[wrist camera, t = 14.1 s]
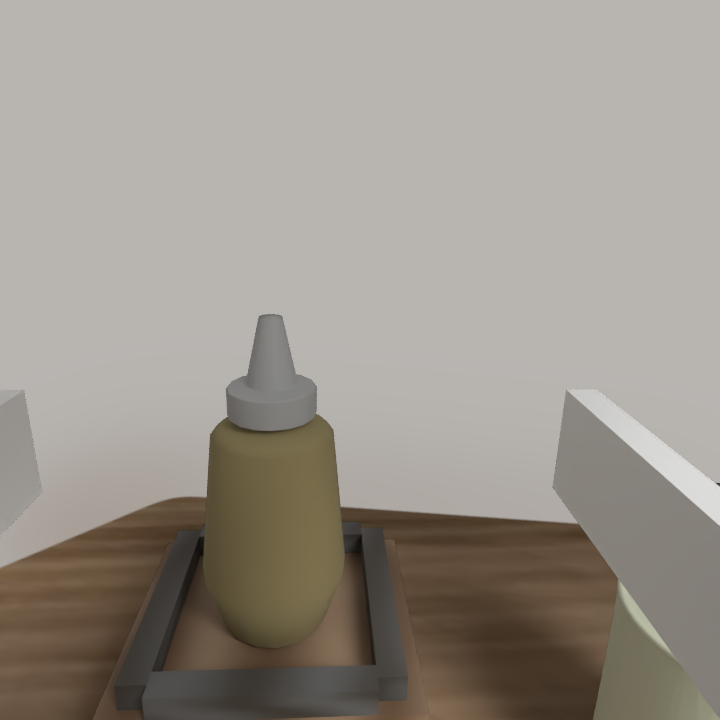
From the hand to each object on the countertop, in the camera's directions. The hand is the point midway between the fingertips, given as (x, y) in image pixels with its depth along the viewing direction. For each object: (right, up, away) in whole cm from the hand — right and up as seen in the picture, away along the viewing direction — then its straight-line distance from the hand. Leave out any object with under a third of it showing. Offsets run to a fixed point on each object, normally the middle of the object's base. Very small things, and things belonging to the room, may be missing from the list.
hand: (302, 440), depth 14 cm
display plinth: (-4, -18, +21) cm, 28 cm away
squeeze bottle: (-4, -13, +19) cm, 24 cm away
